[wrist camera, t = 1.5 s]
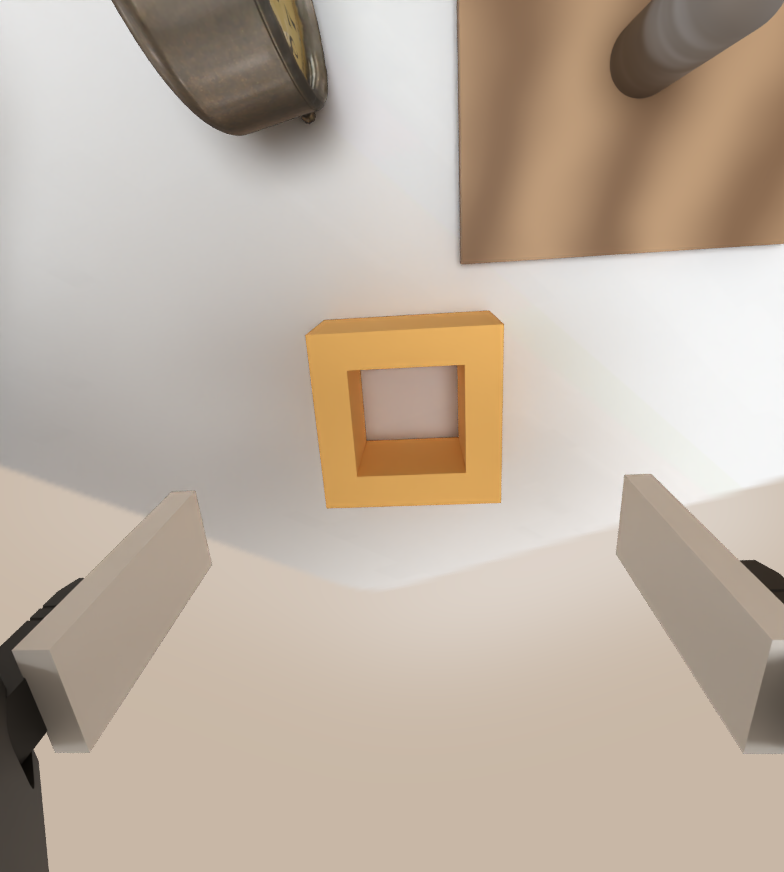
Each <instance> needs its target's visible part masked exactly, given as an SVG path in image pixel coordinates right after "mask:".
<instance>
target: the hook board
mask: <svg viewBox="0 0 784 872" xmlns="http://www.w3.org/2000/svg"><path fill="white" fill-rule="evenodd" d="M457 44H458V118H459V193H460V263H461V264H475V263H490V262H506V261H521V260H537V259H553V258H568V257H584V256H599V255H615V254H631V253H646V252H662V251H677V250H693V249H709V248H724V247H740V246H755V245H771V244H784V0H457Z"/></svg>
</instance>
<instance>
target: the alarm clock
mask: <svg viewBox="0 0 784 872" xmlns="http://www.w3.org/2000/svg"><path fill="white" fill-rule="evenodd" d="M112 2H113V4H114V5H115V7H116V9H117V11H118V13H119V14H120V16H121V17H122V19H123V21H124V22H125V24H126V26H127V27H128V29H129V30H130V32H131V34H132V35H133V37H134V39H135V40H136V42H137V43H138V45H139V46H140V48H141V49H142V51H143V52H144V54H145V55H146V57H147V58H148V60H149V61H150V62H151V64H152V65H153V67H154V68H155V69H156V71H157V72H158V73H159V75H160V76H161V77H162V79H163V80H164V81H165V82H166V84H167V85H168V86H169V87H170V88H171V90H172V91H173V92H174V93H175V94H176V95H177V97H178V98H179V99H180V100H181V101H182V102H183V103H184V104H185V105H186V106H187V107H188V108H189V109H190V110H191V111H192V112H193V113H194V114H195V115H197V116H198V117H199V118H200V119H202V120H203V121H204V122H206V123H207V124H209V125H210V126H212V127H214V128H215V129H217V130H219V131H222V132H224V133H227V134H231V135H236V136H242V135H246V134H250V133H253V132H256V131H259V130H261V129H264V128H267V127H270V126H273V125H276V124H279V123H282V122H284V121H287V120H290V119H293V118H296V117H299V116H301V117H302V119H303V121H304V122H305V123H308V124H310V123H311V122H313V121H315V113H314V111H317V110H320V109H321V108H323V106H324V104H325V102H326V99H327V93H328V85H327V71H326V66H325V59H324V53H323V48H322V43H321V36H320V32H319V28H318V22H317V18H316V14H315V10H314V6H313V2H312V0H112Z"/></svg>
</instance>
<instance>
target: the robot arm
mask: <svg viewBox="0 0 784 872" xmlns="http://www.w3.org/2000/svg"><path fill="white" fill-rule="evenodd" d="M616 555H617V556H618V558H619V560H620V561H621V563H622V564H623V566H624V568H625V569H626V571H627V572H628V573H629V575H630V577H631V578H632V580H633V582H634V583H635V585H636V586H637V588H638V589H639V591H640V592H641V594H642V596H643V597H644V599H645V600H646V602H647V604H648V605H649V607H650V608H651V610H652V611H653V613H654V615H655V616H656V618H657V619H658V621H659V622H660V624H661V626H662V627H663V629H664V630H665V632H666V633H667V635H668V636H669V638H670V640H671V641H672V643H673V644H674V646H675V647H676V649H677V651H678V652H679V654H680V655H681V657H682V658H683V660H684V662H685V663H686V665H687V666H688V668H689V669H690V671H691V672H692V674H693V676H694V677H695V679H696V680H697V682H698V683H699V685H700V687H701V688H702V690H703V691H704V693H705V695H706V696H707V698H708V699H709V701H710V702H711V704H712V705H713V707H714V709H715V710H716V712H717V713H718V715H719V716H720V718H721V720H722V721H723V723H724V724H725V726H726V727H727V729H728V730H729V732H730V733H731V735H732V737H733V738H734V740H735V741H736V743H737V745H738V746H739V748H740V749H741V751H742V752H743V754H784V578H783V576H781V575H780V574H779V573H777V572H776V571H774V570H772V569H770V568H768V567H767V566H765V565H763V564H761V563H759V562H757V561H756V560H742V561H739V560H738V559H737V558H736V557H735V556H734V555H733V554H732V553H731V552H730V551H729V550H728V549H727V548H726V547H725V546H724V545H723V544H722V543H721V542H720V541H719V540H718V539H717V538H716V537H715V536H714V535H713V534H712V533H711V532H710V531H709V530H708V529H707V528H706V527H705V526H704V525H703V524H702V523H701V522H700V521H699V520H698V519H697V518H695V516H694V515H692V514H691V513H690V512H689V511H688V510H687V509H686V508H685V507H684V506H683V505H682V504H681V503H680V502H679V501H678V500H677V499H676V498H675V497H674V496H673V495H672V494H671V493H670V492H669V491H668V490H667V489H666V488H665V487H664V486H663V485H662V484H661V483H660V482H659V481H658V480H657V479H656V478H655V477H654V476H653V475H652V474H636V475H624V484H623V494H622V503H621V512H620V521H619V531H618V540H617V550H616ZM211 566H212V562H211V558H210V553H209V549H208V544H207V540H206V536H205V531H204V527H203V523H202V518H201V514H200V509H199V505H198V501H197V496H196V492H195V491H175V492H171V493H170V494H169V495H168V496H167V497H166V498H165V499H164V500H163V501H162V502H161V503H160V504H159V505H158V506H157V507H156V508H155V509H154V510H153V511H152V512H151V513H150V514H149V515H148V516H147V517H146V518H145V519H144V520H143V521H142V522H141V523H140V524H139V525H138V526H137V527H136V528H135V529H134V530H133V531H132V532H131V533H130V534H129V535H127V536H126V537H125V539H123V540H122V541H121V542H120V543H119V544H118V545H117V546H116V547H115V549H113V551H111V552H110V553H109V554H108V555H107V556H106V557H105V558H104V559H103V560H102V561H101V562H100V563H99V564H98V565H97V566H96V567H95V568H94V569H93V570H92V571H91V572H90V573H89V574H88V575H87V576H86V577H85V578H79V579H77V580H75V581H74V582H72V583H70V584H69V585H67V586H66V587H64V588H62V589H61V590H59V591H58V592H57V593H56V594H55V595H54V596H53V597H51V598H50V599H49V600H48V601H47V602H46V603H45V604H44V605H43V608H42V609H39V610H38V611H37V612H36V613H35V614H34V615H33V616H32V617H31V618H30V621H26V622H25V623H24V624H23V625H22V626H21V627H20V628H19V629H18V630H17V631H16V632H15V633H14V634H13V635H12V636H11V637H10V638H9V639H8V640H7V641H6V642H4V643H3V644H2V645H1V646H0V872H49V869H48V858H47V847H46V837H45V825H44V815H43V804H42V793H41V784H40V783H41V782H40V771H39V761H38V759H37V756H36V754H35V752H34V750H33V749H34V748H35V746H36V745H37V744H38V742H39V741H40V740H41V739H42V737H43V736H44V735H45V733H46V732H47V735H48V737H49V739H50V741H51V744H52V746H53V749H54V751H55V753H62V752H63V753H90V751H91V750H92V748H93V747H94V745H95V744H96V742H97V741H98V739H99V738H100V736H101V734H102V733H103V731H104V730H105V728H106V727H107V725H108V724H109V722H110V721H111V719H112V718H113V716H114V715H115V713H116V711H117V710H118V708H119V707H120V705H121V704H122V702H123V701H124V699H125V698H126V696H127V695H128V693H129V692H130V690H131V688H132V687H133V685H134V684H135V682H136V681H137V679H138V678H139V676H140V675H141V673H142V672H143V670H144V668H145V667H146V665H147V664H148V662H149V660H150V659H151V658H152V656H153V655H154V653H155V652H156V650H157V648H158V647H159V645H160V644H161V642H162V641H163V639H164V638H165V636H166V635H167V633H168V631H169V630H170V629H171V627H172V625H173V624H174V622H175V621H176V619H177V618H178V616H179V615H180V613H181V612H182V610H183V609H184V607H185V605H186V604H187V602H188V600H189V599H190V598H191V596H192V595H193V593H194V592H195V590H196V589H197V587H198V585H199V584H200V582H201V581H202V579H203V577H204V576H205V575H206V573H207V571H208V570H209V569H210V567H211Z"/></svg>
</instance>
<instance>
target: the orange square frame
mask: <svg viewBox="0 0 784 872" xmlns="http://www.w3.org/2000/svg"><path fill="white" fill-rule="evenodd" d="M305 337H306V345H307V353H308V361H309V369H310V377H311V386H312V394H313V402H314V410H315V418H316V426H317V434H318V442H319V450H320V459H321V467H322V475H323V483H324V491H325V499H326V507H327V508H353V507H385V506H417V505H449V504H480V503H501V469H502V408H503V347H504V324H503V323H502V322H501V321H500V320H499V319H498V318H497V317H496V316H494V315H493V314H492V313H491V312H490V311H473V312H455V313H438V314H421V315H403V316H386V317H368V318H351V319H334V320H324V321H323V322H321V323H320V324H319V325H318V326H316V327H315V328H314V329H313V330H311V331H310V332H309V333H307V334H306V335H305ZM450 365H457V375H458V435H459V437H449V438H425V439H400V440H376V441H366V429H365V418H364V406H363V395H362V383H361V372H360V370H371V369H390V368H410V367H430V366H450Z"/></svg>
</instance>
